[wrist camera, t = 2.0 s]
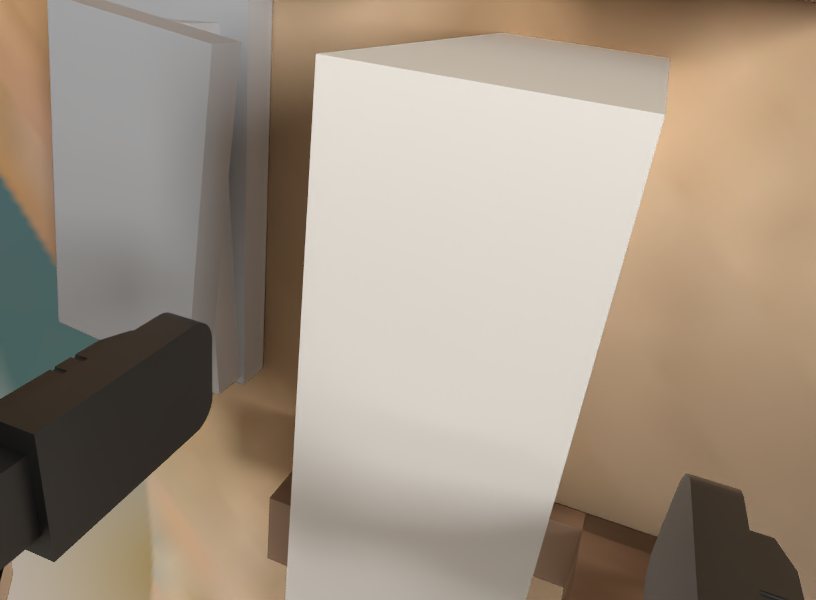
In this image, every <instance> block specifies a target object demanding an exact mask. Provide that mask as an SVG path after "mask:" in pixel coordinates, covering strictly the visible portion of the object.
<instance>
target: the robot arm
mask: <svg viewBox="0 0 816 600" xmlns="http://www.w3.org/2000/svg"><path fill="white" fill-rule="evenodd" d="M211 404H212V333H211V330H210V328H209V326H208V325H207V324H205V323H202V322H198V321H195V320H192V319H189V318H185V317H182V316H179V315H176V314H172V313H169V312H165V313H162V314H160V315H158V316H157V317H155V318H153V319H152V320H150V321H148V322H147V323H145V324H143V325H142V326H140V327H139V328H137V329H135V330H134V331H133V330H130V331H127V332H124V333H121V334H117V335H114V336H111V337H108V338H104V339H101V340H99V341H97V342H96V343H94V344H93V345H91V346H89V347H87V348H86V349H84V350H82V351H81V352H79V353H77V354H76V356H75V358H69V359H67V360H65V361H64V362H62V363H60V364H59V365H57V366H56V367H55V369H54V370H53V371H52V370H49V371H47V372H45V373H44V374H42V375H41V376H38V377H37V378H35V379H34V380H32V381H30V382H29V383H27V384H25V385H23V386H22V387H20V388H18V389H17V390H15V391H13V392H12V393H10V394H8V395H6V396H5V397H3V398H2V399H0V600H7V598H8V594H9V589H10V585H11V581H12V576H13V569H12V563H11V561H12V560H13V559H14V558H16V556H18V555H19V554H20V553H21V552H23V551H24V550H25V549H26V550H28V551H30V552H33V553H35V554H37V555H39V556H42V557H44V558H46V559H48V560H51V561H53V562H55V561H56V560H57V559H58V558H59V557H61V556H62V555H63V554H64V553H65V552H66V551H67V550H68V549H69V548H70V547H71V546H73V545H74V544H75V543H76V542H77V541H78V540H79V539H80V538H81V537H82V536H83V535H85V533H87V532H88V531H89V530H90V529H91V528H92V527H93V526H94V525H95V524H97V523H98V522H99V521H100V520H101V519H102V518H103V517H104V516H105V515H106V514H108V513H109V512H110V511H111V510H112V509H113V508H114V507H115V506H116V505H117V504H118V503H119V502H120V501H122V500H123V499H124V498H125V497H126V496H127V495H128V494H129V493H130V492H132V491H133V489H135V488H136V487H137V486H138V485H139V484H140V483H141V482H142V481H144V480H145V479H146V478H147V477H148V476H149V475H150V474H151V473H152V472H153V471H155V470H156V469H157V468H158V467H159V466H160V465H161V464H162V463H163V462H164V461H165V460H167V459H168V458H169V457H170V456H171V455H172V454H173V453H174V452H175V451H176V450H177V449H179V448H180V447H181V446H182V445H183V444H184V443H185V442H186V441H187V440H188V439H190V438H191V437H192V436H193V435H194V434H195V433H196V432H197V431H198V430H199V429H200V428H201V426H202V425H203V423H204V422H205V420H206V418H207V416H208V413H209V411H210V408H211ZM644 600H804V597H803V593H802V589H801V584H800V580H799V576H798V572H797V570H796V569H795V568H794V566H793V565H792V563H791V562H790V560H789V559H788V557H787V556H786V555H785V553H784V552H783V550H782V549H781V547H780V546H779V544H778V543H777V542H776V540H775V539H774V538H772V537H768V536H765V535H762V534H759V533H756V532H753V531H750V530H749V525H748V519H747V513H746V507H745V501H744V496H743V493H742V491H741V490H739V489H735V488H732V487H729V486H726V485H722V484H719V483H716V482H713V481H709V480H706V479H703V478H700V477H696V476H693V475H690V474H685V475H684V476H683V478H682V479H681V481H680V483H679V486H678V488H677V490H676V493H675V495H674V498H673V500H672V503H671V505H670V508H669V510H668V513H667V515H666V518H665V520H664V523H663V525H662V528H661V530H660V532H659V535H658V537H657V540H656V542H655V545H654V547H653V550H652V553H651V556H650V560H649V564H648V568H647V572H646V578H645V585H644Z"/></svg>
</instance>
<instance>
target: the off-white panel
mask: <svg viewBox="0 0 816 600" xmlns="http://www.w3.org/2000/svg"><path fill="white" fill-rule="evenodd" d="M669 65H670V58H668V57H661V56H655V55H648V54H642V53H635V52H629V51H622V50H615V49H609V48H602V47H596V46H589V45H583V44H576V43H570V42H563V41H556V40H550V39H543V38H537V37H530V36H524V35H517V34H511V33H504V32H502V33H493V34H485V35H476V36H467V37H458V38H449V39H440V40H432V41H423V42H414V43H405V44H396V45H387V46H379V47H370V48H361V49H352V50H343V51H335V52H326V53H317V54H316V61H315V79H314V97H313V114H312V132H311V150H310V168H309V186H308V204H307V221H306V239H305V257H304V275H303V293H302V311H301V328H300V346H299V364H298V382H297V400H296V418H295V436H294V453H293V471H292V489H291V507H290V525H289V543H288V560H287V578H286V596H285V600H526V598H527V595H528V591H529V588H530V584H531V581H532V577H533V574H534V570H535V567H536V563H537V560H538V556H539V553H540V549H541V546H542V543H543V539H544V536H545V532H546V529H547V525H548V522H549V518H550V515H551V511H552V508H553V504H554V501H555V497H556V494H557V490H558V487H559V483H560V480H561V476H562V473H563V469H564V466H565V462H566V459H567V455H568V452H569V448H570V445H571V442H572V438H573V435H574V431H575V428H576V424H577V421H578V417H579V414H580V410H581V407H582V403H583V400H584V396H585V393H586V389H587V386H588V382H589V379H590V375H591V372H592V368H593V365H594V361H595V358H596V354H597V351H598V347H599V344H600V341H601V337H602V334H603V330H604V327H605V323H606V320H607V316H608V313H609V309H610V306H611V302H612V299H613V295H614V292H615V288H616V285H617V281H618V278H619V274H620V271H621V267H622V264H623V260H624V257H625V253H626V250H627V246H628V243H629V240H630V236H631V233H632V229H633V226H634V222H635V219H636V215H637V212H638V208H639V205H640V201H641V198H642V194H643V191H644V187H645V184H646V180H647V177H648V173H649V170H650V166H651V163H652V159H653V156H654V152H655V149H656V145H657V142H658V138H659V135H660V132H661V128H662V125H663V121H664V118H665V113H666V101H667V89H668V77H669Z"/></svg>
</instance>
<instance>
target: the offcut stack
mask: <svg viewBox="0 0 816 600" xmlns="http://www.w3.org/2000/svg"><path fill="white" fill-rule="evenodd" d="M47 4H48V33H49V61H50V89H51V118H52V146H53V175H54V203H55V231H56V260H57V286H58V287H57V288H58V315H59V322H61V323H63V324H65V325H68V326H70V327H72V328H74V329H77V330H79V331H81V332H83V333H86V334H88V335H90V336H92V337H95V338H97V339H99V340H101V339H104V338H108V337H111V336H114V335H117V334H121V333H124V332H127V331H130V330H133V331H134V330H135V329H137V328H139V327H140V326H142V325H143V324H145V323H147V322H148V321H150V320H152V319H153V318H155V317H157V316H158V315H160V314H162V313H165V312H169V313H172V314H176V315H179V316H182V317H185V318H189V319H192V320H195V321H198V322H202V323H205V324H207V325H208V326H209V328H210V330H211V333H212V393H215V394H219V395H220V394H221V393H222V392H223V391H224V390H225V389H227V388H228V387H229V386H230V385H231V384H233V383H234V382H237V383H240V384H243V385H244V384H245V383H246V382H247V381H248V380H250V379H251V378H252V377H253V376H254V375H255V374H256V373H258V372H259V371H260V370H261V369H262V368H263V338H264V301H265V265H266V228H267V191H268V154H269V118H270V81H271V44H272V7H273V0H47Z"/></svg>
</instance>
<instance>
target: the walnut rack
mask: <svg viewBox="0 0 816 600" xmlns="http://www.w3.org/2000/svg"><path fill="white" fill-rule="evenodd" d="M801 1H809V2H816V0H801ZM291 489H292V472H291V473H290V474H289V476H288V477H287V478H286V479H285V480H284V482H283V483H282V484H281V485H280V487H279V488H278V489H277V490H276V491H275V493H274V494H273V495H272V496H271V497H270V507H269V534H268V558H269V559H271V560H274V561H276V562H279V563H281V564H283V565H286V566H287V560H288V543H289V525H290V507H291ZM656 540H657V537H654V536H651V535H648V534H645V533H642V532H639V531H636V530H633V529H630V528H627V527H624V526H622V525H619V524H616V523H613V522H610V521H607V520H604V519H601V518H598V517H595V516H592V515H589V514H586V513H583V512H580V511H577V510H575V509H572V508H569V507H566V506H563V505H560V504H557V503H554V504H553V508H552V511H551V515H550V518H549V522H548V525H547V529H546V532H545V536H544V539H543V543H542V546H541V549H540V553H539V556H538V560H537V563H536V567H535V570H534V574H533V576H535V577H537V578H540V579H543V580H545V581H548V582H551V583H553V584H556V585H559V586H562V587H564V590H563V595H562V600H644V585H645V578H646V572H647V568H648V564H649V560H650V556H651V553H652V550H653V547H654V545H655V542H656Z"/></svg>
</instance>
